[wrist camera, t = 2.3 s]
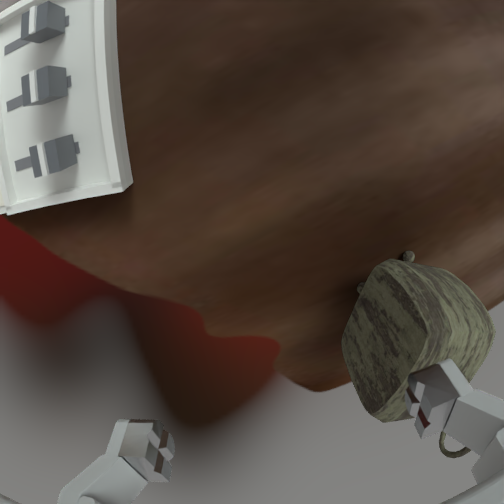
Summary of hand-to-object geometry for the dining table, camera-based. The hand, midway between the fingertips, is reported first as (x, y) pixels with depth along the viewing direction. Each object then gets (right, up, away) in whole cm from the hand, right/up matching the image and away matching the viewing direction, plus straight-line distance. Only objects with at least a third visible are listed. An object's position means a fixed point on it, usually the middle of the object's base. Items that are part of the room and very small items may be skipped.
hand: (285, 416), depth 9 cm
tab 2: (-20, +21, +13) cm, 32 cm away
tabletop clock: (+15, +1, +29) cm, 33 cm away
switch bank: (-24, +22, +15) cm, 36 cm away
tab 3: (-20, +15, +16) cm, 30 cm away
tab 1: (-21, +27, +10) cm, 36 cm away
